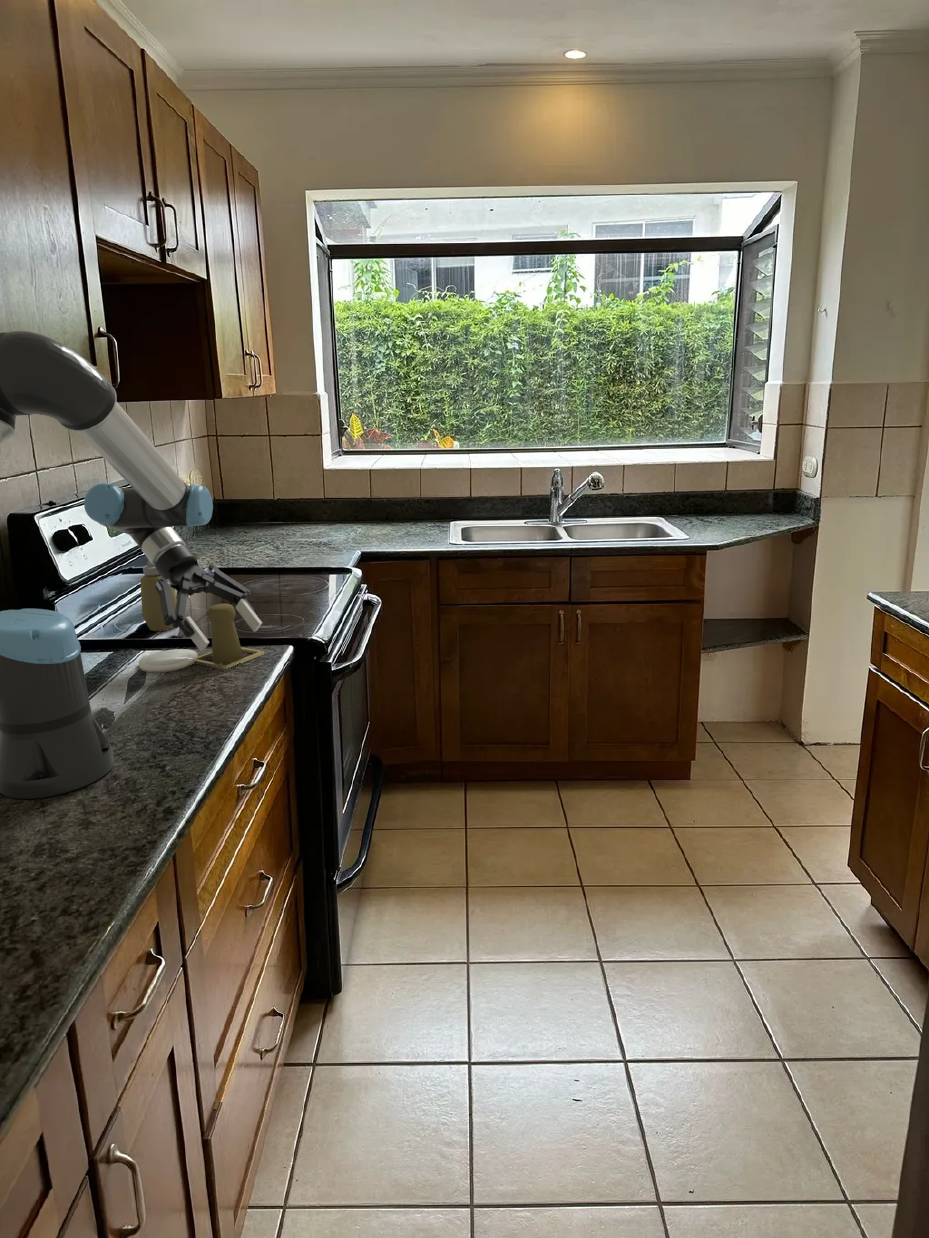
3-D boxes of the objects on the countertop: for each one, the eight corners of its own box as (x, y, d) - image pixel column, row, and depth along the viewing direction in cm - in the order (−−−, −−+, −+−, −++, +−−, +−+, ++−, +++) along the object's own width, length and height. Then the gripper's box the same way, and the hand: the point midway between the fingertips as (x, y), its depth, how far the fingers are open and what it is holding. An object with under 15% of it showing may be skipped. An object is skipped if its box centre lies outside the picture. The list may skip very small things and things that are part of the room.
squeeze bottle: (158, 635, 183) (145, 555, 178) (137, 630, 188) (124, 552, 183) (189, 625, 189) (177, 548, 184) (168, 621, 194) (156, 545, 189)
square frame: (225, 669, 158) (225, 666, 158) (190, 662, 164) (190, 659, 164) (264, 654, 166) (264, 651, 166) (229, 647, 172) (229, 644, 172)
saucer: (164, 675, 157) (163, 670, 157) (127, 667, 163) (126, 662, 162) (209, 658, 166) (209, 652, 165) (173, 651, 172) (172, 645, 171)
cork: (247, 653, 168) (240, 600, 165) (237, 663, 162) (229, 608, 159) (218, 653, 168) (211, 601, 165) (207, 663, 163) (199, 609, 159)
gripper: (211, 555, 179) (270, 630, 175) (109, 582, 159) (173, 667, 155) (225, 532, 174) (286, 608, 171) (122, 556, 154) (188, 644, 151)
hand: (232, 637), depth 163 cm, fingers open, 13 cm apart
